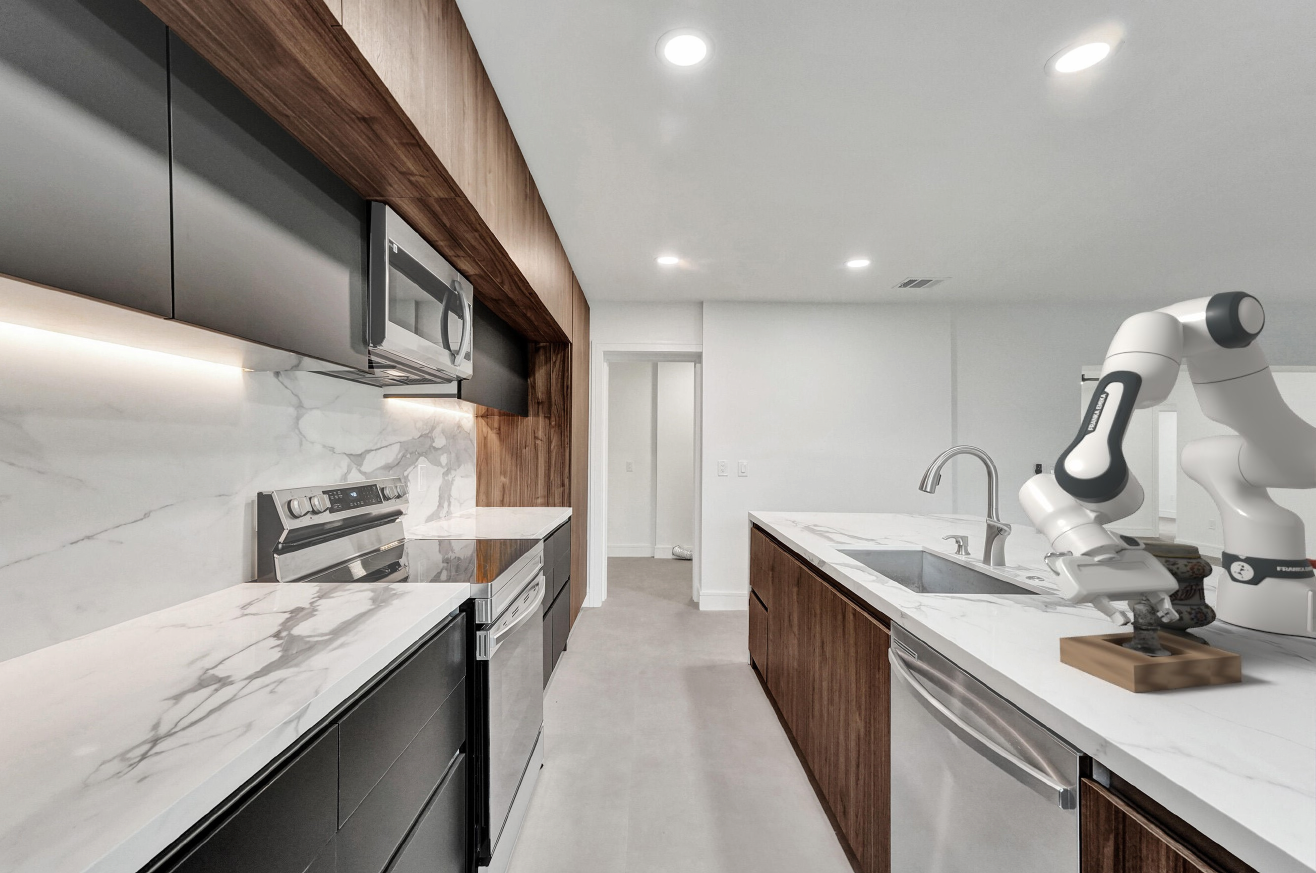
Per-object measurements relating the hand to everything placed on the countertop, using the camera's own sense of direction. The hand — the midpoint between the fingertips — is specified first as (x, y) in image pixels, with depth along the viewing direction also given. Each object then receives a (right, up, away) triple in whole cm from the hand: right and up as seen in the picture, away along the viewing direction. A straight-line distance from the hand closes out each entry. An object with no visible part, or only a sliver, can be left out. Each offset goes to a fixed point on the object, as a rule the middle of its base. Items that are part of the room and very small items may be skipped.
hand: (1149, 622), depth 86 cm
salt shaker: (0, -8, 0) cm, 8 cm away
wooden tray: (0, -8, 0) cm, 8 cm away
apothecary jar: (+18, -9, +15) cm, 25 cm away
